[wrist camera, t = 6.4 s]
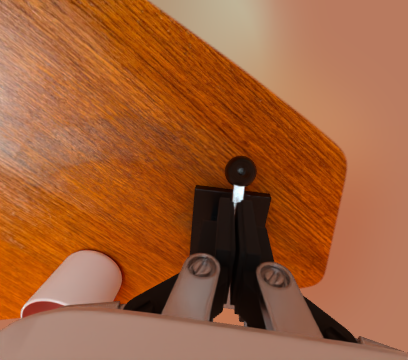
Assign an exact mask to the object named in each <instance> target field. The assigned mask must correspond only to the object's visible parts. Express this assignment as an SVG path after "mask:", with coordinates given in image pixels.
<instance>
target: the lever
mask: <svg viewBox="0 0 408 360" xmlns="http://www.w3.org/2000/svg"><path fill="white" fill-rule="evenodd" d="M256 174H257V169H256V166H255V163H254V162H253V161H252V160H251V159H250V158H248V157H246V156H236V157H234V158H232V159H231V160H229V162H228V163H227V165H226V167H225V176H226V179H227V180H228V182H229V183H230V184H232V185H233V191H232V199H231V201H233V202H234V216H235V210H236V204H237V202H241V200H243V198H244V190H245V187H246V186H248V185H250V184H251V183H252V182H253V181H254V179H255V177H256ZM223 308H228V309H234V305H230V287H229V293H228V299H227V304H224V305H223Z"/></svg>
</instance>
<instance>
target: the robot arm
mask: <svg viewBox="0 0 408 360" xmlns="http://www.w3.org/2000/svg"><path fill="white" fill-rule="evenodd" d="M229 287H230V305H234V310H235V314H239V316H240V317H241V318H242V319H243V320H244V326H238V325H230V324H224V323H217V322H213V318H215V317H216V316H217V315H219V314H220V313H221V312H222V311H223V305H224V304H227V299H228V293H229ZM0 360H408V353H407V352H404V351H401V350H398V349H395V348H392V347H389V346H387V345H384V344H381V343H378V342H375V341H372V340H369V339H367V338H364V337H361V336H359V338H358V339H356V338H354V336H353V335H352V334H351V333H350V332H349V331H348V330H347V329H346V328H344V327H343V326H342V325H341V324H339V323H338V322H337V321H335V320H334V319H333V318H331V317H330V316H329V315H328V314H326V313H325V312H323V310H321V309H320V308H319V307H317V306H316V305H315V304H313V303H312V302H311V301H310V300H308V299H307V298H305V297H304V296H303V295H302V293H301V291H300V289H299V287H298V285H297V283H296V281H295V279H294V277H293V275H292V274H291V272H290V271H289V270H288V269H287V268H286V267H284V266H282V265H281V264H278V263H275V262H274V259H273V255H272V250H271V246H270V242H269V238H268V234H267V230H266V228H265V227H259V226H256V221H255V215H254V210H253V204H252V201H248V200H241V202H237V204H236V210H235V216H234V202H233V201H230V198H222V197H220V200H219V209H218V217H217V221H210V220H203V221H202V226H201V232H200V237H199V243H198V248H197V253H196V254H193V255H191V256H189V257H188V258H187V259H186V261H185V262H184V265H183V267H182V269H181V271H180V273H178V274H177V275H175V276H173V277H171V278H169V279H167V280H166V281H164V282H162V283H160V284H158V285H156V286H155V287H153V288H151V289H149V290H147V291H145V292H144V293H142V294H140V295H138V296H136V297H135V298H133V299H132V300H130V301H129V302H128V303H127V304H120V301H115V302H101V303H88V304H74V305H66V306H61V307H59V308H57V309H52V310H48V311H43V312H39V313H35V314H32V315H29V316H26V317H24V318H21V319H19V320H17V321H15V322H13V323H11V324H9V325H8V326H6V327H5V328H3V329H2V330H0Z"/></svg>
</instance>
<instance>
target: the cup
mask: <svg viewBox="0 0 408 360" xmlns="http://www.w3.org/2000/svg"><path fill="white" fill-rule="evenodd" d="M121 283H122V275H121V271H120V269H119V267H118V265H117V264H116V263H115V262H114V261H113V260H112V259H111V258H110V257H108V256H106V255H105V254H103V253H100V252H97V251H92V250H82V251H78V252H75V253H73V254H71V255H70V256H69V257H67V258H66V259H65V261H64V262H63V263H62V264H61V265H60V266H59V267H58V268H57V269H56V271H55V272H54V273H53V274H52V275H51V276H50V277H49V278H48V279H47V280H46V282H45V283H44V284H43V285H42V286H41V287H40V288H39V289H38V290H37V292H36V293H35V294H34V295H33V296H32V297H31V298H30V299H29V300H28V301H27V303H26V304H25V305H24V306H23V308H22V310H21V318H24V317H26V316H29V315H32V314H35V313H39V312H43V311H48V310H52V309H57V308H59V307H61V306H66V305H74V304H88V303H101V302H113V300H114V299H115V297H116V295H117V293H118V291H119V289H120V287H121Z"/></svg>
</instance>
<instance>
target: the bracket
mask: <svg viewBox="0 0 408 360" xmlns="http://www.w3.org/2000/svg"><path fill="white" fill-rule="evenodd" d="M232 191H233V189H225V188H216V187H208V186H200V185H196V187H195V195H194V207H193V220H192V233H191V245H190V256H191V255H193V254H196V253H197V248H198V243H199V237H200V232H201V226H202V221H203V220H210V221H217V217H218V209H219V200H220V197H222V198H230V201H231V199H232ZM243 200H248V201H252V204H253V210H254V215H255V221H256V226H259V227H265V223H266V219H267V214H268V210H269V206H270V202H271V196H270V194H267V193H258V192H250V191H244V198H243ZM239 321H240V322H244V320H243V319H242V318H241V317H240V316H239Z"/></svg>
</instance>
